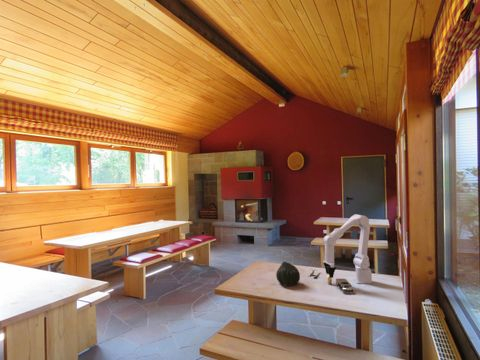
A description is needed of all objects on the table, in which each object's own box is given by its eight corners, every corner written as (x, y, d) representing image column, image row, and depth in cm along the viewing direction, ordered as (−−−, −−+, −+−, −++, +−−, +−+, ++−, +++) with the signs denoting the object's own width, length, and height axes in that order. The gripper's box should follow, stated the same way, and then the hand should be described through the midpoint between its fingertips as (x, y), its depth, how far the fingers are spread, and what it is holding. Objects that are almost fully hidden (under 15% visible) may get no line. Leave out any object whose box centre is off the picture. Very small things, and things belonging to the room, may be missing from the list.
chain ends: (345, 284, 193) (345, 278, 193) (354, 294, 176) (354, 288, 176) (335, 284, 193) (335, 278, 193) (343, 294, 176) (343, 288, 176)
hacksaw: (316, 279, 203) (316, 277, 203) (301, 277, 208) (301, 275, 208) (323, 270, 225) (323, 268, 225) (310, 268, 229) (310, 266, 229)
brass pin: (331, 283, 194) (331, 274, 194) (332, 284, 192) (332, 275, 192) (327, 283, 194) (327, 274, 194) (328, 284, 192) (328, 275, 192)
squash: (305, 279, 187) (297, 257, 196) (283, 282, 183) (276, 260, 192) (298, 288, 197) (290, 267, 206) (277, 292, 193) (270, 270, 202)
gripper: (320, 251, 201) (320, 272, 200) (325, 257, 186) (326, 279, 186) (331, 251, 200) (331, 272, 200) (337, 257, 186) (337, 279, 186)
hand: (329, 275), depth 193 cm, fingers open, 7 cm apart
